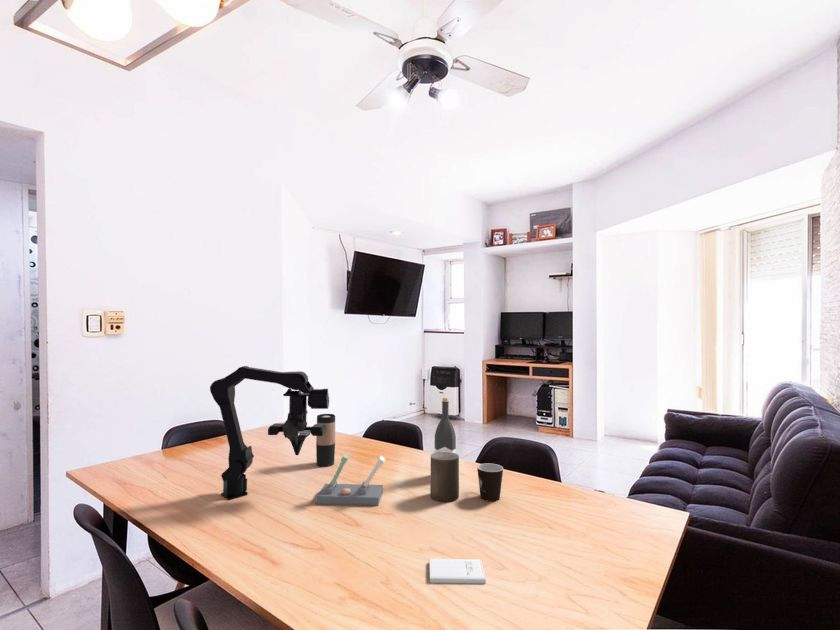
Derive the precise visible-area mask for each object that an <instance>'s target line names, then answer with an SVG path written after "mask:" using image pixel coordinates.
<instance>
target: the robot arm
mask: <svg viewBox="0 0 840 630" xmlns="http://www.w3.org/2000/svg"><path fill="white" fill-rule="evenodd" d="M244 380H251V381H258V382H259V381H260V382H265V383H271V384H278V385H281V386H283V387H285V388H288V389H287V390H286V392H284V393H283V397H289V398H288V400H289V401H288V402H289V404H288V407H289V408H288V409H289V411H288V413H287V418H286V420H285V422H283V423H279V422H278V423H277V422H275V423H273V424H271V425H270V426H269V427H268V428H267V435H268V436H277V435H278V434H279V433H283V436H284V438H285V439H288V440H289V442H290V443H291V446H292V448H293V451H294V455H295V456H299V455H300V452H301V450H302V447H303V445H304V442H305V440H306V439H307V438H308V437H309V436H310V435H311V436H313V437H316V436H323V435H324V434H325V433H326V432H327V427H326V425H325V424H317V423H315V424H314V425H312V426H308V422H307V414H308V410H307V407H309V408H310V409H311V410H312V409H313V410H315V409H316V410H320V409H321V410H325V409H326V410H327V409H329V408H330V407H329V405H330V396H329V395H330V394H329V389H328V388H321V389H320V388H314V387H313V385H312V384H311V383H310V381H309V377H308V375H307V373H306V372H304V371H299V370H298V371H297V370H296V371H277V370H270V369H264V368H257V367H250V366H248V365H244V366H243V365H242V366H241V367H238V368H237V369H236V370H235V371H233V372H231V373H230V374H228V375H227V376H225V377H222V378H219V379H217V380H214V381H213V382H212V383H211V384H210V386H209V392H210V394H211V395H212V398H213V400H214V401H215V403H216V404H217V406H218V407H219V409H220V413H221V414H220V415H221V419H222V421H223V426H224V430H225V434H226V438H227V443H228V447H229V451H228V458H227V459H228V467H227V469H225V470H224V471H223V472H222V473H221V474H220V475H221V479H222V482H223V483H222V486H223V487H222V488H223V490H222V492H221V493H220V495H221V496H222V497H223V498H225V499H227V500H233V499H236V498H239V497H243V496H247V495H248V494H249V492H248V478H247V475H246V474H245V473H246V471H247V470H248V468H250V467H251V466H252V464H253V461H254V457H255V455H254V453H253V447H252V445H249V446H247V445H246V443H245V441H244V438H243V433H242V430H241V426H240V421H239V418H238V413H237V410H236V406H235V400H236V399H235V398H236V386H237V385H238V384H240V383H242V382H243V381H244Z"/></svg>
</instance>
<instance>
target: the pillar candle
mask: <svg viewBox="0 0 840 630" xmlns="http://www.w3.org/2000/svg"><path fill="white" fill-rule="evenodd" d="M429 483H430V484H429V485H430V489H429V490H430V493H429V495H430V497H431V499H432V500H435V501H437V502H440V503H442V502H443V503H449V502H455V501H456V500H458V499H459V498H460V456H459V454H458V453H457V452H456V453H452V452H437V453H435V452H434V453H431V454H430V482H429Z"/></svg>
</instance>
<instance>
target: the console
mask: <svg viewBox="0 0 840 630" xmlns="http://www.w3.org/2000/svg"><path fill="white" fill-rule="evenodd" d="M329 484H330V483H324V485H323V486H322V488H321V489H320V491H319V492H318V493H317V495H316V496H315V498H316V499H315V501H316V503H315V504H316V505H339V506H340V505H343V506H347V505H348V506H377V507H378V506H379V505H380V502H381V498H382V497H383V496H382V495H383V492H384V485H383V484H370V483H369V484H368V487H367V489H366V488H361V486H362V484H363V483H361V484H359V483H355V484H354V483H338V480H337V481H336V486H335V487H334V489H333V488H327V487H328V485H329Z"/></svg>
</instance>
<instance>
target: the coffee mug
mask: <svg viewBox="0 0 840 630" xmlns="http://www.w3.org/2000/svg"><path fill="white" fill-rule="evenodd" d="M476 468H477V477H478V487H479V496H480V499H481V500H483V501H485V502H491V503H493V502H498V501H500V500H501V499H500V498H501V490H502V482H503V473H504V472H503V471H504V467H503V466H502V465H500V464H496V463H490V462H489V463H487V462H486V463H481V464H480V463H479V465H477V467H476Z"/></svg>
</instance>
